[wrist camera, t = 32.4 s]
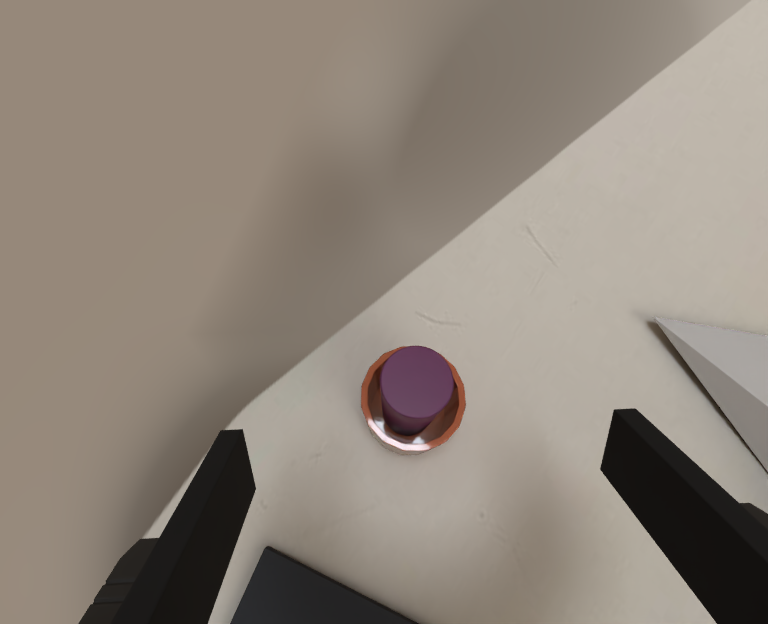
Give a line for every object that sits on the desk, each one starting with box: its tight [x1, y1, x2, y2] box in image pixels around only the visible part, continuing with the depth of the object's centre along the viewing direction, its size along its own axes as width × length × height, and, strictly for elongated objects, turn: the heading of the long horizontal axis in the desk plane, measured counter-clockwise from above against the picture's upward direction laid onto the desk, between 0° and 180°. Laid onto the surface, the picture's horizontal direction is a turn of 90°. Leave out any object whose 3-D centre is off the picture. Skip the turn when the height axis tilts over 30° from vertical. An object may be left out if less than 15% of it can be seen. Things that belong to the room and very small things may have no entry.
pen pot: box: [361, 346, 466, 455], centre depth 25 cm, size 6×6×6 cm
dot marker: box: [380, 346, 454, 436], centre depth 23 cm, size 4×4×10 cm
